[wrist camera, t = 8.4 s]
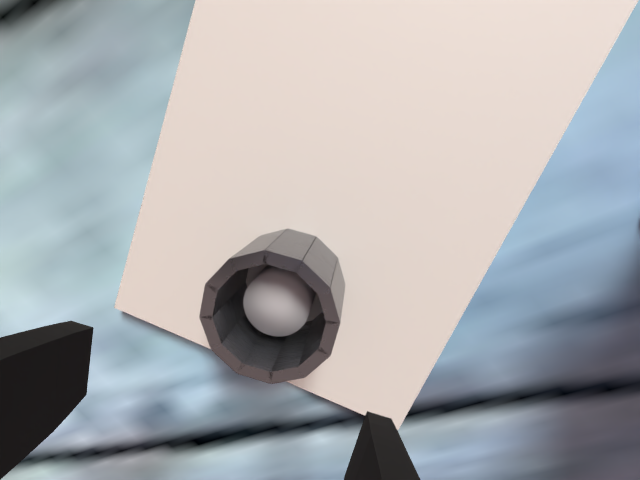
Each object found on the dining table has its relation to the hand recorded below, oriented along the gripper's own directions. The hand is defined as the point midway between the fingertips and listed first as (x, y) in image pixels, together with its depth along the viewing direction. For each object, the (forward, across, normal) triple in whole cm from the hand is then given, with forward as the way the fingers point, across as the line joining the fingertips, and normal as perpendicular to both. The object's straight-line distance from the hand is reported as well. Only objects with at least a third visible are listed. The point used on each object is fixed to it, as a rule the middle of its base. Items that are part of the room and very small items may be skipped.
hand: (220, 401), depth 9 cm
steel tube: (+8, 0, 0) cm, 9 cm away
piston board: (+9, -1, -7) cm, 12 cm away
